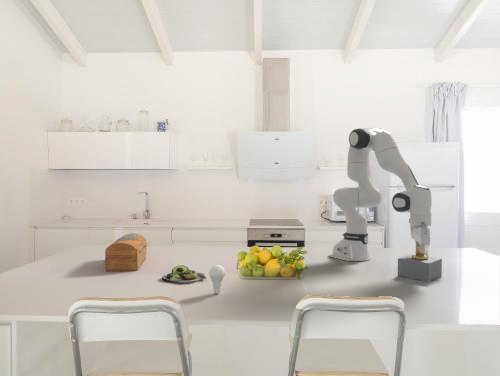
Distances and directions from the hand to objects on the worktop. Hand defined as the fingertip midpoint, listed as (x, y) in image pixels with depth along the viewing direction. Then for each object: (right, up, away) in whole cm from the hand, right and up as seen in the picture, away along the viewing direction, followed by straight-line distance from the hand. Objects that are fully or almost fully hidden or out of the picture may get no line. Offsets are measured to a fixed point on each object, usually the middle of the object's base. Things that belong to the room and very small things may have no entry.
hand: (419, 251), depth 179 cm
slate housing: (0, -11, 0) cm, 11 cm away
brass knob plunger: (0, -11, 0) cm, 11 cm away
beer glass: (+9, -11, +17) cm, 22 cm away
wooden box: (-140, -10, +22) cm, 142 cm away
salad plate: (-106, -11, -5) cm, 107 cm away
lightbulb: (-90, -12, -28) cm, 95 cm away
